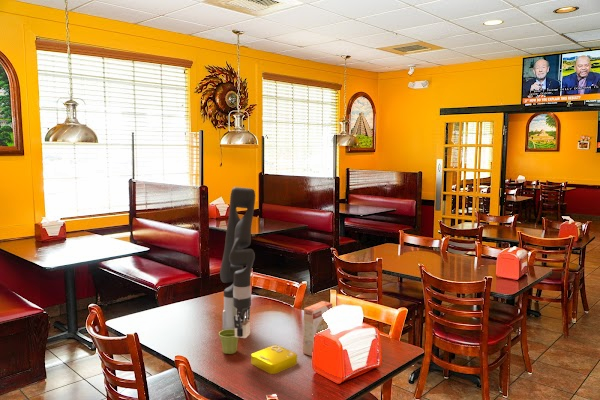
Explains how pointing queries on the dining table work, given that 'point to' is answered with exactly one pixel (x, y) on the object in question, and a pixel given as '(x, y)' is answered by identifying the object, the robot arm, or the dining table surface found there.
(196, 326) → the dining table surface
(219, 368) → the dining table surface
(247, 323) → the cream brown block
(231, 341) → the plant pot
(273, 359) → the element tile
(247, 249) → the robot arm
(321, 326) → the cracker box
